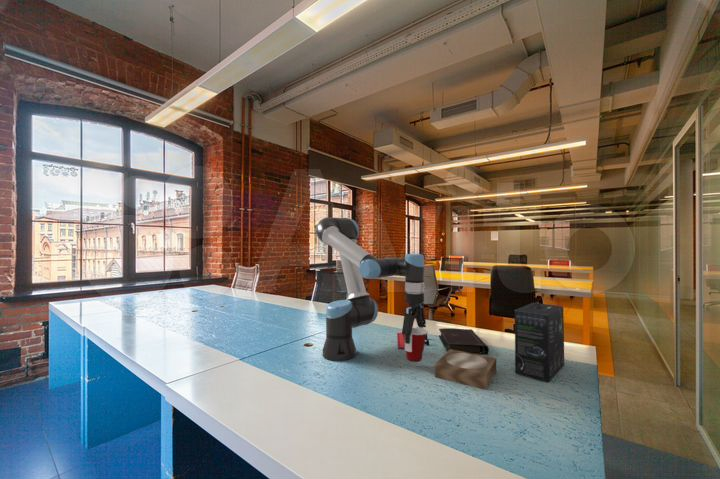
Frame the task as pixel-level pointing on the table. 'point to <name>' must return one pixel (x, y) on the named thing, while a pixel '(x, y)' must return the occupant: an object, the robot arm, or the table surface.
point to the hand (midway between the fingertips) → (414, 346)
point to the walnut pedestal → (466, 368)
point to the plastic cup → (416, 344)
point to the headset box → (539, 340)
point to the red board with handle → (401, 341)
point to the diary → (462, 341)
